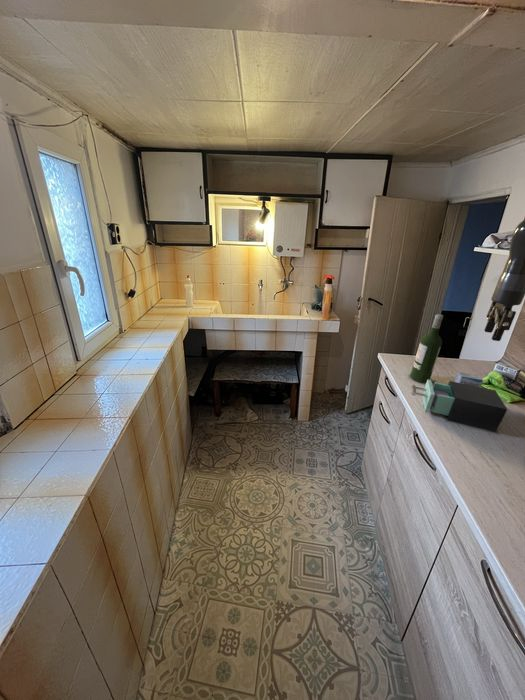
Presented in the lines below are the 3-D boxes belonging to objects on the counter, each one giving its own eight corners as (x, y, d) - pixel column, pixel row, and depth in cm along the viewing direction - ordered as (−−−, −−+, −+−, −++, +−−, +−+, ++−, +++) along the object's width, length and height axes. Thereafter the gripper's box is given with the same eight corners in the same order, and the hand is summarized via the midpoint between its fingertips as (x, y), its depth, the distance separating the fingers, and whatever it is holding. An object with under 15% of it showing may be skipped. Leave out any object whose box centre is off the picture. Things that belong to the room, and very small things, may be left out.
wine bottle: (407, 373, 131) (425, 311, 118) (424, 374, 131) (444, 312, 118) (414, 382, 124) (434, 317, 111) (432, 383, 124) (455, 318, 111)
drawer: (409, 408, 105) (414, 390, 101) (407, 392, 114) (412, 376, 111) (467, 422, 98) (475, 403, 95) (461, 404, 108) (468, 387, 105)
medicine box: (454, 394, 116) (461, 376, 112) (451, 389, 120) (457, 371, 116) (476, 398, 114) (483, 380, 110) (472, 393, 118) (479, 375, 114)
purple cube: (444, 402, 107) (447, 392, 105) (445, 409, 103) (449, 399, 101) (430, 399, 108) (434, 390, 106) (432, 406, 104) (435, 396, 103)
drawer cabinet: (447, 420, 100) (455, 398, 96) (441, 401, 111) (449, 380, 107) (496, 432, 95) (507, 409, 91) (485, 411, 106) (495, 390, 102)
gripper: (536, 294, 80) (512, 345, 87) (517, 285, 92) (498, 331, 99) (504, 290, 83) (484, 341, 90) (490, 282, 95) (473, 327, 102)
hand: (491, 336), depth 94 cm, fingers open, 8 cm apart
